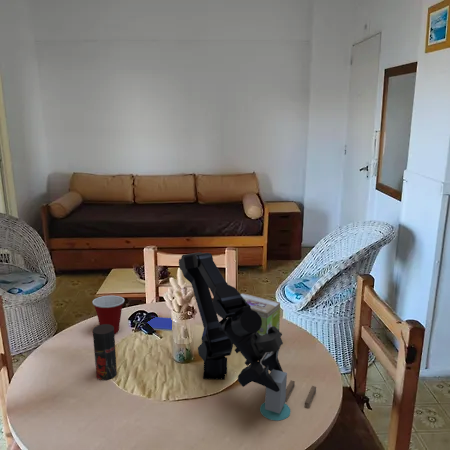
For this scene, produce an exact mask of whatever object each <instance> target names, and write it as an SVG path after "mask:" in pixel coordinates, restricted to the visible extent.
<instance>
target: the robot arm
mask: <svg viewBox="0 0 450 450" xmlns="http://www.w3.org/2000/svg"><path fill="white" fill-rule="evenodd" d="M178 267H179V270H180V271H181V272H182V274H183V277H184V278H185V279H186V280H187V281H188V282H189V283H190V285H191V287H192V291H193V294H194V298H195V301H196V304H197V308H198V312H199V315H200V318H201V319H200V320H201V322H202V326H203V331H202V335H201V344H200V345H199V346H198V347H197V353H198V355H199V356H200V358H201V359H202V361H203V373H202V380H225V379H226V375H227V374H228V357H229V356H231V355H232V351H233V346H235V349H234V351H235V353H236V354H239V353H240V354H241V355H242V356H243V358H244V359H245V362H244V364H245V365H246V366H245V367H244V368H243V369H242V370H241V371H240V372H239V374H238V375H237V382H238V383H239V384H240V386H241V387H242V388H244V387H245V386H247V385H249V384H250V383H254V384H258V385H260V386H263V387H265V388H266V387H267V388H269V389H271V390H273V391H275V392H278V391H279V390H280V389H279V387H278V386H277V384H276V383H275V381H274V380H273V378H272V377H271V375H270V373H269V371H270V372H271V371H272V369H274V370H278V371H282V372H284V371H283V368H282V366H281V363H280V360H279V351H280V348H281V346H282V345H283V344H284V342H283V340H282V338H281V337H282V335H283V333H282V332H280V329H279V330H278V329H277V328H276V327H275V326H272V327H270V328H269V329H268V333H265V335H262V336H261V335H260V334H259V333H258V332H257V331H259V330H260V328H261V326H262V319H261V317H260V316H259V314H258V313H257V312H255V311H253V310H252V309H251V306H250V305H249V304H248V303H247V302H246V301H245V300H244V298H243V297H242V296H241V294H242V293H240V292H239V291H238V289H236V287H234V286H232V285H230V284H228V282H227V281H226V279H225V278H224V276H223V274H222V273H221V271H220V270H219V267H218V265H217V264H216V263H215V261H214V258H213V254H212V253H211V252H201V251H200V252H194V253H187V254H186V253H185V254H182V255H181V257H180V258H179V260H178ZM211 293H212V294H211ZM219 317H220V318H222V319H221V320H219ZM229 317H230V318H229ZM227 356H228V357H227Z"/></svg>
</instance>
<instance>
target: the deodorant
mask: <svg viewBox="0 0 450 450" xmlns="http://www.w3.org/2000/svg"><path fill="white" fill-rule="evenodd" d="M92 337H93V351H94V365H95V375H96V378H97V380H99V381H110V380H113V379H114V378H116V376H117V374H118V372H117V371H118V369H117V355H116V352H117V351H116V339H115V334H114V327H113V326H112V325H109V324H102V325H100V324H98V325H96V326H95V327H93V329H92Z"/></svg>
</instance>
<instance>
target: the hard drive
mask: <svg viewBox="0 0 450 450" xmlns="http://www.w3.org/2000/svg"><path fill="white" fill-rule="evenodd" d="M154 317H155V318H153V319H151V320H150V321H148V322H147V323H148V324H149V325H150V326H151V327H152V328H153V329H154V330H153V331H163V332H173V330H172V320H171V318H172V317H162V316H161V317H160V316H159V317H158V316H157V317H156V316H154ZM138 327H139V326H137V328H138Z"/></svg>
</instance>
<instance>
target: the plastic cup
mask: <svg viewBox="0 0 450 450" xmlns="http://www.w3.org/2000/svg"><path fill="white" fill-rule="evenodd" d="M124 303H125V298H124V297H122V296H118V295H103V296H99V297H96V298H94V299H93V300H92V305H93V306H94V309H95V312H96V316H97V321H98V325H102V324H109V325H112V326H113V327H114V335H116V334H117V333H119V330H120V324H121V319H122V311H123V305H124Z"/></svg>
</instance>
